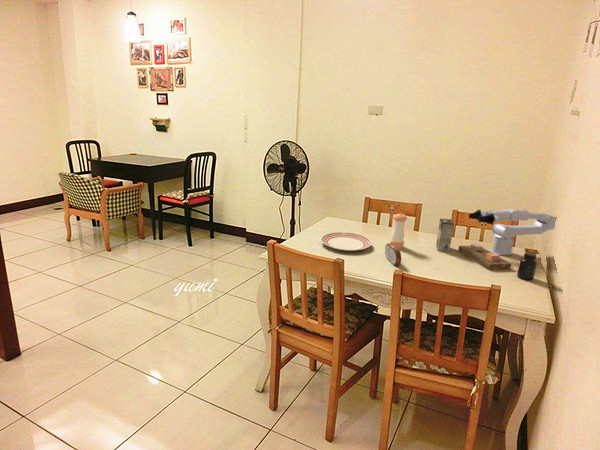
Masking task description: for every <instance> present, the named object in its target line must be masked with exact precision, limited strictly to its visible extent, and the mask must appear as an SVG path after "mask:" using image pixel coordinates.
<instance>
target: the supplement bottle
mask: <svg viewBox="0 0 600 450" xmlns="http://www.w3.org/2000/svg"><path fill="white" fill-rule="evenodd" d="M523 254H524V255H523V257H521V259H520V260H519V265H518V269H517V274H516V276H517V278H518V279H520V280H522V281H527V282H529V281H530V282H531V281H533V280H534V278H535V274H536V271H537V265H538V262H537V260H536V259H537V254H536V253H533V252H529V251H526V252H524V253H523Z"/></svg>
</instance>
